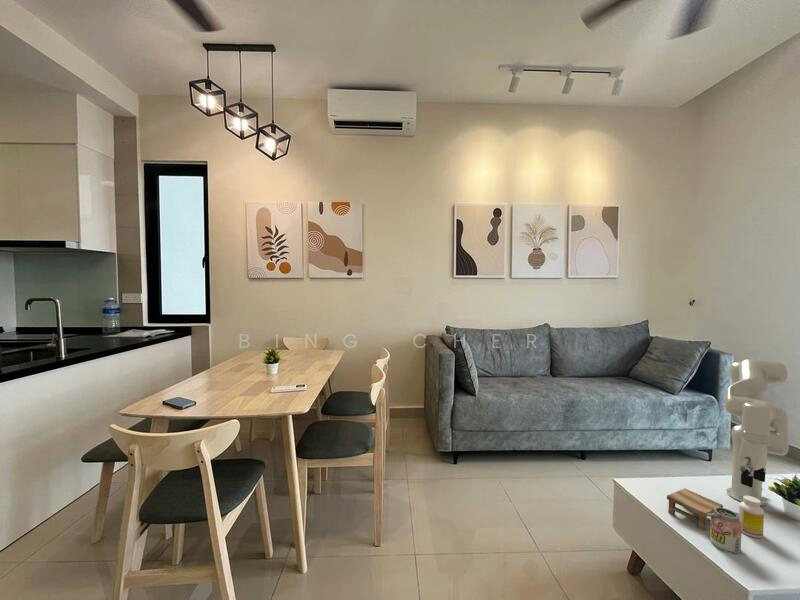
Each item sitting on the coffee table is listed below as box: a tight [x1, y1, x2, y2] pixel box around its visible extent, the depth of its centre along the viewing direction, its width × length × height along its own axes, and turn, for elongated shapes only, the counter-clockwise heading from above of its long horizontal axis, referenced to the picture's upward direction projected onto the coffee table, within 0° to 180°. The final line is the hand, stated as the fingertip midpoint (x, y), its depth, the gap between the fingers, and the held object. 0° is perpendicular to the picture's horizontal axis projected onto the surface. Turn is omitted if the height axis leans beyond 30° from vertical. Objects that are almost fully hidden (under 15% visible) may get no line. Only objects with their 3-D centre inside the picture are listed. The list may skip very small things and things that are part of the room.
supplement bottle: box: [738, 496, 765, 539], centre depth 135 cm, size 7×7×13 cm
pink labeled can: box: [707, 507, 743, 554], centre depth 128 cm, size 9×8×12 cm
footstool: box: [666, 488, 724, 531], centre depth 144 cm, size 13×13×7 cm
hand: (752, 482), depth 135 cm, fingers open, 9 cm apart
